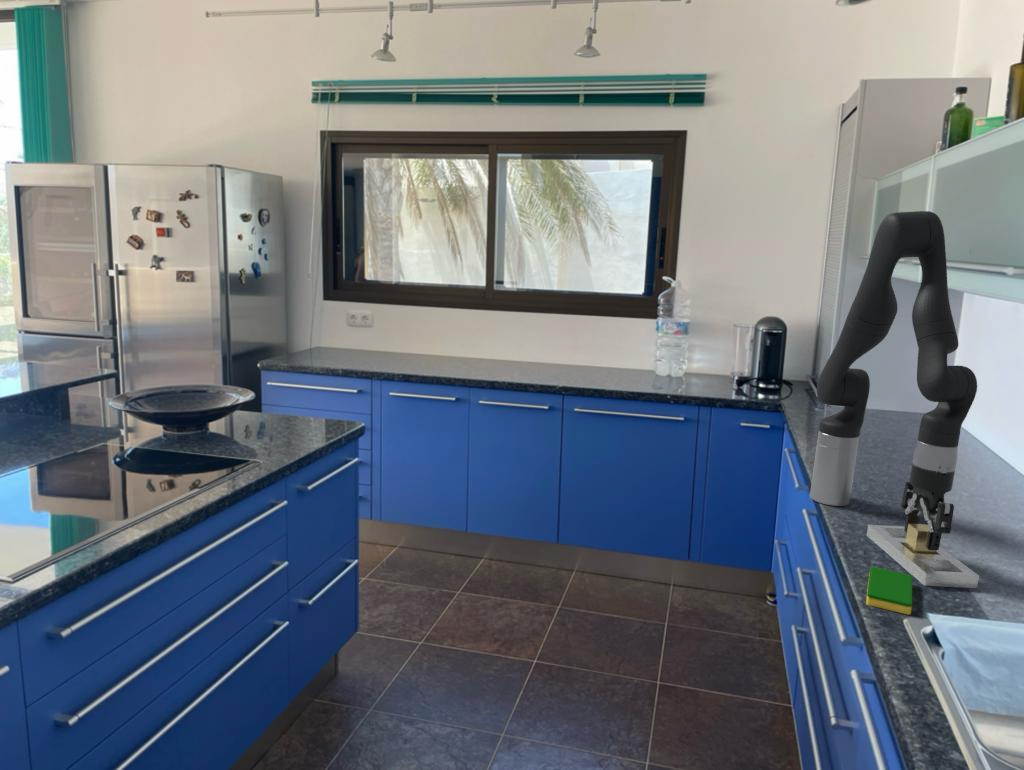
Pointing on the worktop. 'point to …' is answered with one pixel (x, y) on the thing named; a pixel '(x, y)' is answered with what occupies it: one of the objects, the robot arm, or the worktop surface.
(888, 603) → the dish sponge
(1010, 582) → the worktop surface
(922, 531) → the brass peg
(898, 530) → the rail plate
